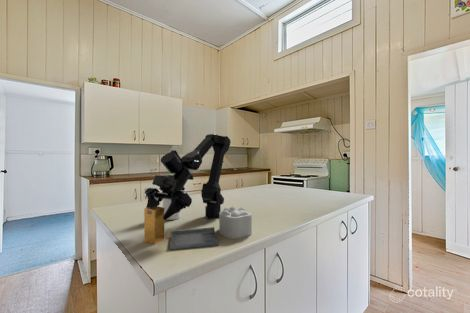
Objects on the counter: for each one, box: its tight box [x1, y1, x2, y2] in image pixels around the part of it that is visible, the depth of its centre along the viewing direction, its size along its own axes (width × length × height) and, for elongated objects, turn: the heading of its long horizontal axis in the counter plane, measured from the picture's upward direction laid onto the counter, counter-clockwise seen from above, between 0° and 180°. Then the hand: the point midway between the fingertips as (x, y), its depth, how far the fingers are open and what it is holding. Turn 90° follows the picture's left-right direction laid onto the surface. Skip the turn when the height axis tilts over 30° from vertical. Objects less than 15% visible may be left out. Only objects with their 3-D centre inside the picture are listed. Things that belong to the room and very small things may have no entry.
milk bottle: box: [162, 173, 181, 221], centre depth 102 cm, size 8×8×20 cm
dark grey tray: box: [169, 226, 220, 251], centre depth 74 cm, size 15×12×2 cm
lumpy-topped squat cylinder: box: [218, 206, 253, 240], centre depth 83 cm, size 10×13×9 cm
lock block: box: [143, 206, 165, 245], centre depth 74 cm, size 4×5×11 cm
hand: (154, 217), depth 74 cm, fingers open, 9 cm apart
